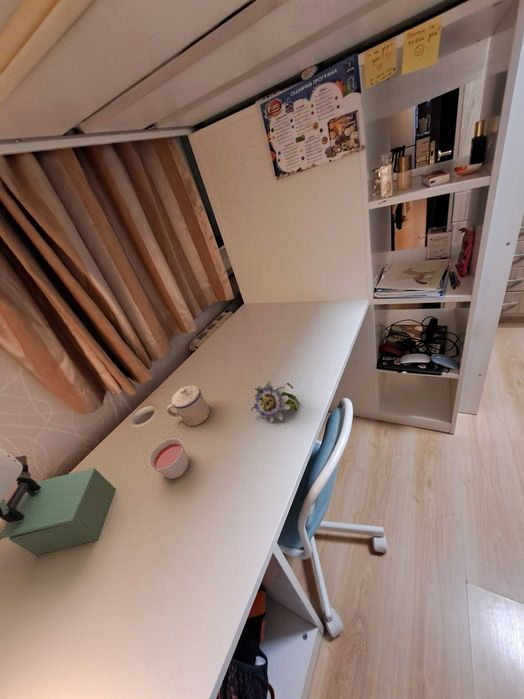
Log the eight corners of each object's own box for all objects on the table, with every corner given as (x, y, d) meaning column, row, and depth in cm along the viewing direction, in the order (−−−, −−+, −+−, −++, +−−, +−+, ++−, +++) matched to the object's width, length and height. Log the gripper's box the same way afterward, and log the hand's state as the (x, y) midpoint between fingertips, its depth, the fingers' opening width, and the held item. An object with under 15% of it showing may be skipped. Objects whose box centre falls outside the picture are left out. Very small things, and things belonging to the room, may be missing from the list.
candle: (156, 466, 79) (145, 453, 75) (186, 446, 82) (176, 432, 78) (166, 490, 72) (154, 476, 69) (197, 467, 75) (187, 453, 72)
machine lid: (2, 538, 62) (-17, 526, 59) (35, 484, 73) (20, 471, 70) (73, 522, 61) (58, 509, 59) (96, 469, 72) (84, 456, 69)
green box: (36, 555, 67) (8, 539, 63) (62, 502, 78) (40, 485, 73) (97, 540, 66) (74, 522, 61) (115, 488, 77) (96, 469, 72)
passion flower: (277, 432, 84) (244, 417, 79) (279, 401, 91) (248, 385, 86) (304, 419, 77) (270, 401, 72) (304, 386, 84) (272, 367, 80)
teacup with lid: (210, 401, 95) (197, 375, 89) (210, 421, 87) (195, 394, 81) (176, 412, 95) (160, 387, 89) (173, 433, 88) (155, 407, 81)
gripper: (-23, 429, 64) (33, 474, 74) (-95, 505, 50) (-15, 549, 60) (8, 420, 64) (60, 467, 74) (-56, 495, 49) (18, 541, 59)
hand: (26, 503), depth 67 cm, fingers closed on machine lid, 6 cm apart
